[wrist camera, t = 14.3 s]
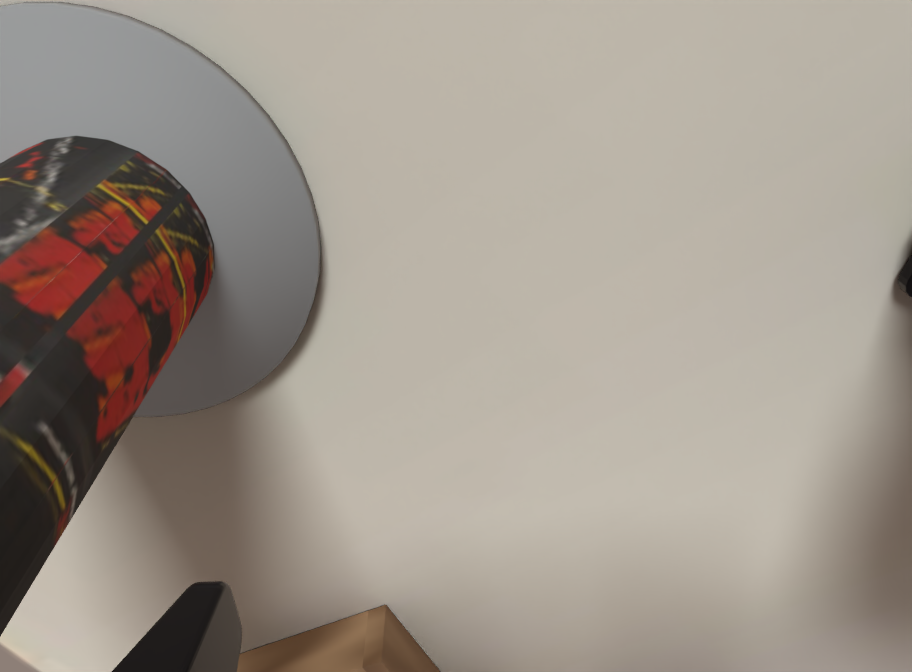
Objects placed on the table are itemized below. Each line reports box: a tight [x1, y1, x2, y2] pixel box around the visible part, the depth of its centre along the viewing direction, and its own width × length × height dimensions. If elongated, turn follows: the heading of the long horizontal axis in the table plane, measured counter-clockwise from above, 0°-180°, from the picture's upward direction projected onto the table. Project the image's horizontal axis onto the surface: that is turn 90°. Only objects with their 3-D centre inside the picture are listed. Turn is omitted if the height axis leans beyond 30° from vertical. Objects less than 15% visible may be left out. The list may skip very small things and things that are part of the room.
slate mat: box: [0, 2, 321, 417], centre depth 20 cm, size 12×12×1 cm
